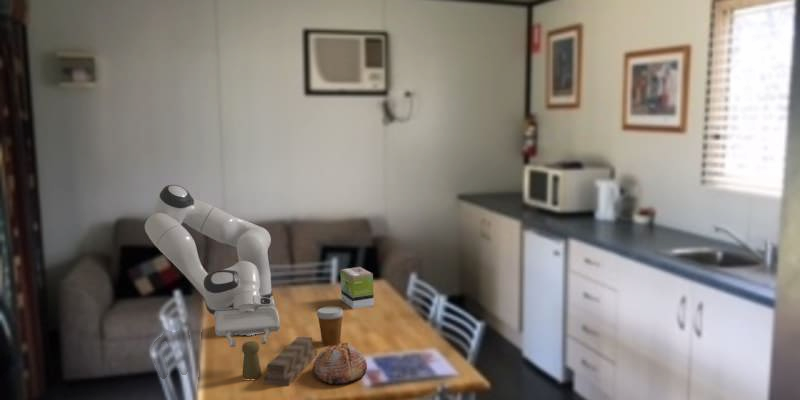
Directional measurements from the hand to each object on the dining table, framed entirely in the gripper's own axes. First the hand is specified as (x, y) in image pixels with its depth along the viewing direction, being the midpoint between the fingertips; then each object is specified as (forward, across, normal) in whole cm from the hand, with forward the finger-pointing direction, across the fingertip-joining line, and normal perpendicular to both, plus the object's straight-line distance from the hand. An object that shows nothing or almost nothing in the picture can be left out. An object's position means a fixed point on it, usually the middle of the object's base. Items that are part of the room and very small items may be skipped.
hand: (248, 344), depth 202 cm
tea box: (-43, +46, +56) cm, 84 cm away
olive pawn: (+9, +1, +4) cm, 10 cm away
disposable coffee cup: (-9, +28, +22) cm, 37 cm away
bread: (+13, +27, 0) cm, 30 cm away
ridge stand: (+7, +13, +6) cm, 16 cm away
